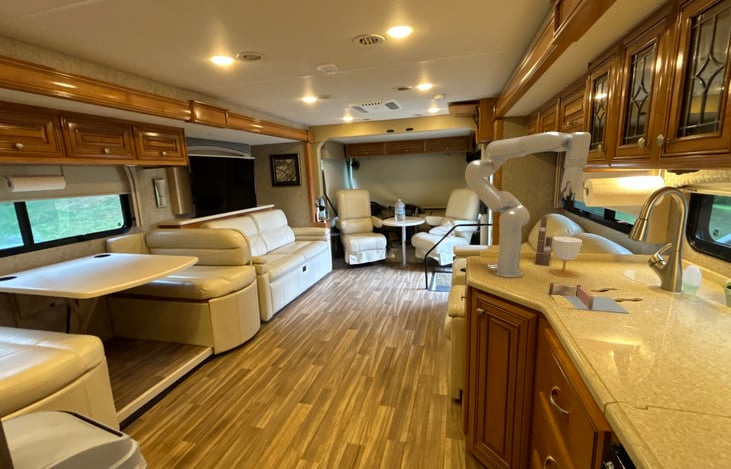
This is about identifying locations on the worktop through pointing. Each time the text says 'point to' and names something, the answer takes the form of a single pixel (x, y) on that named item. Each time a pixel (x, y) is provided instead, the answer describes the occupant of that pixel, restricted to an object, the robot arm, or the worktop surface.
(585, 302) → the bar
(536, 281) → the worktop surface
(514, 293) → the worktop surface
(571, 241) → the cup
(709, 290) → the worktop surface
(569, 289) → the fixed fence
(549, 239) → the wooden toy
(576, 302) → the card
